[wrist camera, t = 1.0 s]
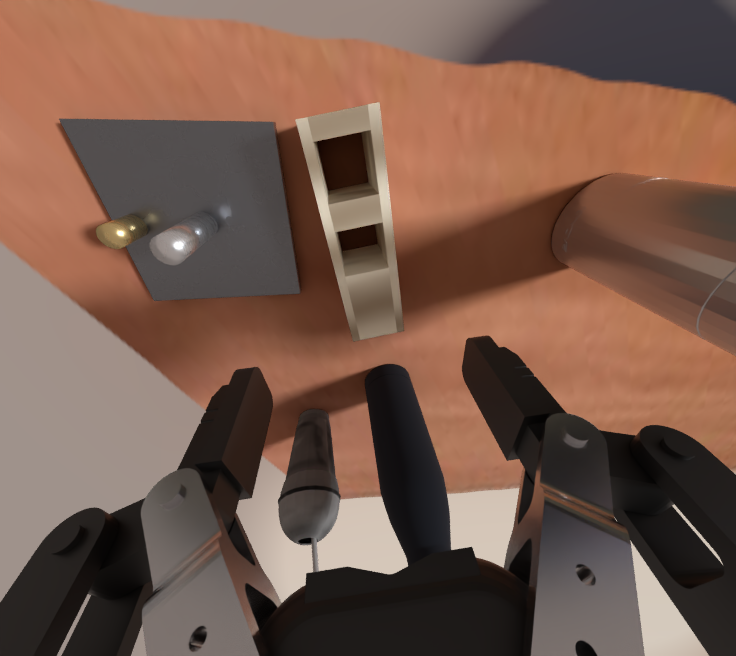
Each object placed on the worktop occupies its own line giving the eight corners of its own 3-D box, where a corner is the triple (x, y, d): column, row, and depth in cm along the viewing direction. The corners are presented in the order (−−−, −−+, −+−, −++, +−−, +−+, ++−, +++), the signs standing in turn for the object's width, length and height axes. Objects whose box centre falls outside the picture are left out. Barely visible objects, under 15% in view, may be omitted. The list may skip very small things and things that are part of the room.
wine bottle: (417, 371, 38) (578, 792, 13) (393, 399, 41) (489, 787, 16) (379, 357, 35) (492, 839, 11) (356, 388, 38) (405, 824, 14)
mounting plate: (275, 122, 20) (252, 115, 14) (301, 289, 28) (293, 330, 22) (70, 119, 19) (-54, 110, 13) (159, 295, 27) (109, 341, 21)
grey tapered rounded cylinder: (285, 405, 39) (253, 599, 22) (335, 400, 39) (340, 585, 23) (294, 435, 43) (273, 615, 27) (340, 429, 43) (346, 602, 27)
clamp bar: (392, 300, 30) (404, 330, 26) (349, 309, 30) (353, 341, 26) (367, 110, 20) (379, 102, 16) (303, 124, 20) (295, 119, 16)
